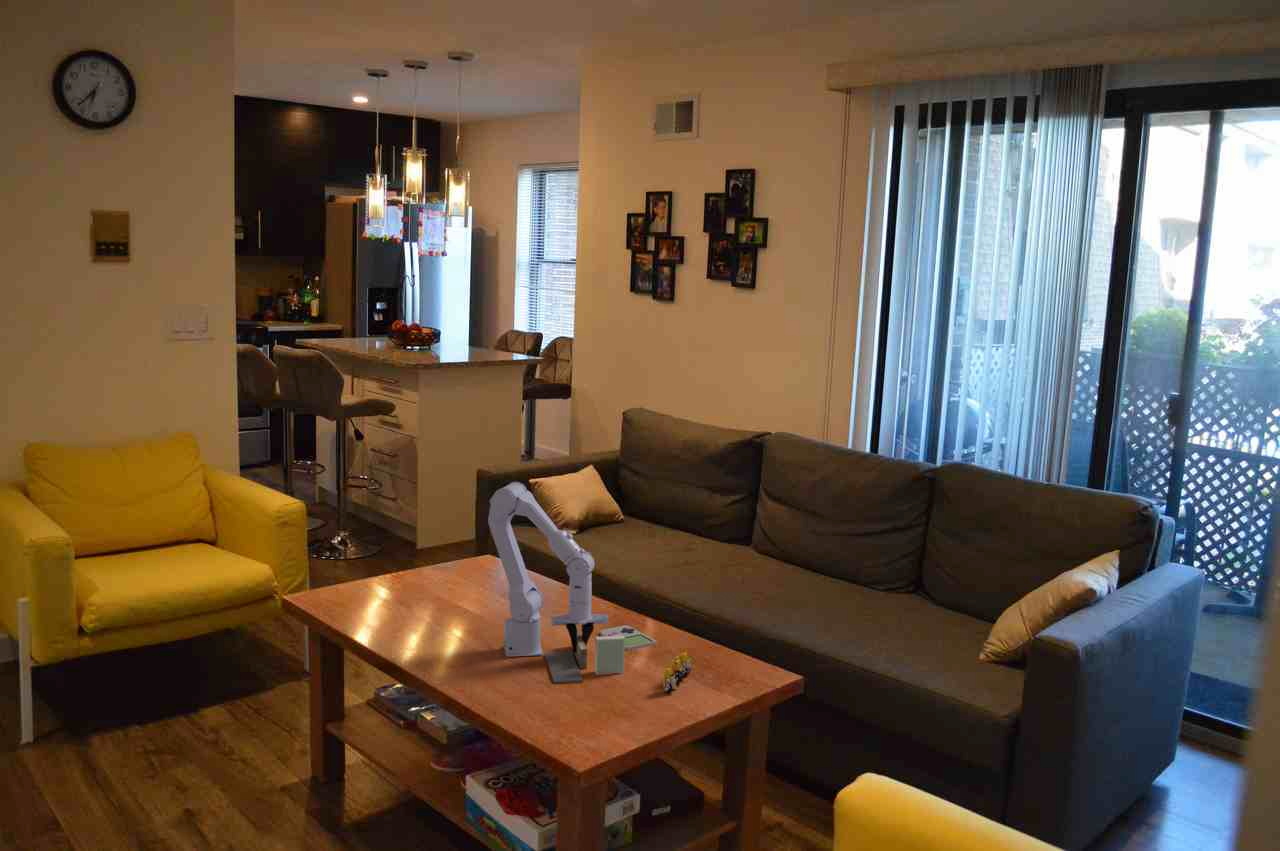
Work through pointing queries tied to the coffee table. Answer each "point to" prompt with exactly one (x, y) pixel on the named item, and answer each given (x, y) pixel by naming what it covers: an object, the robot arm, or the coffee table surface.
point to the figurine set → (677, 671)
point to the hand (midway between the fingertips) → (578, 651)
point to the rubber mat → (563, 667)
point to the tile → (609, 654)
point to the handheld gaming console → (630, 637)
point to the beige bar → (580, 651)
